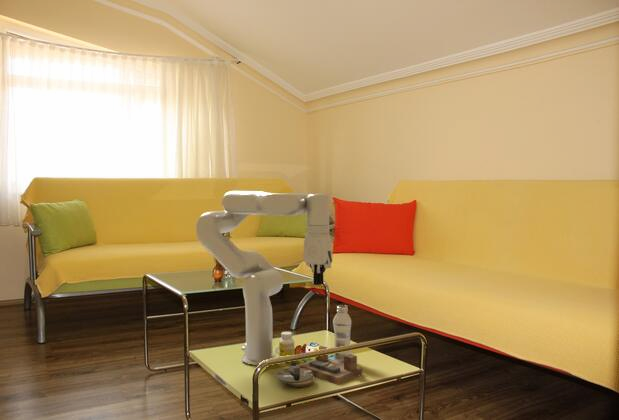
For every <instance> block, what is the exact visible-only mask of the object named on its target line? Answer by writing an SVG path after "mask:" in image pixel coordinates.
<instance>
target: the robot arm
mask: <svg viewBox="0 0 619 420" xmlns="http://www.w3.org/2000/svg"><path fill="white" fill-rule="evenodd" d="M221 206H222V208H223V209H224V210H214V211H207V212H204V213H203V214H201V215H200V216H199V217H198V218H197V220H196V224H195V233H196V236H197V239H198V241H199V243H200V244H201V245H202V246H203V248H204V249H205V250H206V251H208V252H209V253H210V254H211V255H212V256H213V258H215V260H216V261H217V262H218V263H219V264H220V265H221V266H222V267H223V268H224V269H225V270H226V271H227V272H228V273H229V275H231V276H232V277H233V278H236V279H242V278H245V279H244V280H243V284H242V294H243V298H244V304H245V305H244V307H245V309H244V310H245V344H244V346H241V351H243V352H244V355H242V357H241V362H242V361H243V362H245V363H248V364H247V365H249V364H257V365H256V366H259V365H258V364H259V363H260V362H262V361H263V360H266V359H270V358H274V357H277V358H278V355H277V354H276V353H273V352H274V350H273V349H274V348H273V345H274V342H273V340H274V339H273V308H272V304H271V303H272V302H271V300H270V297H271V296H274V295H276V294H277V293H279V292H280V291H281V290H282V288H283V286H284V280H283V277H282V275H281V273H280V272H279V270H278V269H277V268H276V267H275V266H273V265H272V263H270V262H269V261H268V260H267V258H265V257H264V255H263V254H262V253H260V252H258V251H256V250H254V249H247V250H246V249H245V250H242V249H240V248H239V247H238V246H237V245H235V243H234V242H233V241H232V240H231V239H229V238H228V237H225V236H224V235H223V234H225V233H230V232H232V231H234V230H236V228H238V227H239V226H240V225H241V224H242V222H244V221H245V219H247V218H248V216H249V215H255V216H280V217H281V216H283V217H286V216H287V217H292V216H301V215H306V227H305V228H306V229H305V230H306V234H304V240H303V250H302V251H303V253H302V260H303V262H304V263H305V265H306V266H307V267H309V268H310V269H311V272H312V274H313V280H312V282H313V285H314V286H315V285H316V286H321V285H324V273H325V271H326V270H327V269H331V268H332V264H331V263H332V262H333V258H334V257H333V243H332V237H331V234H330V196H329V195H328V194H326V193H303V192H291V193H289V192H287V193H282V192H281V193H275V192H273V193H271V192H266V191H264V190H230V191H228V192H226V193H225V194H224V195H223V196H222V199H221ZM245 363H244V364H245Z"/></svg>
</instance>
